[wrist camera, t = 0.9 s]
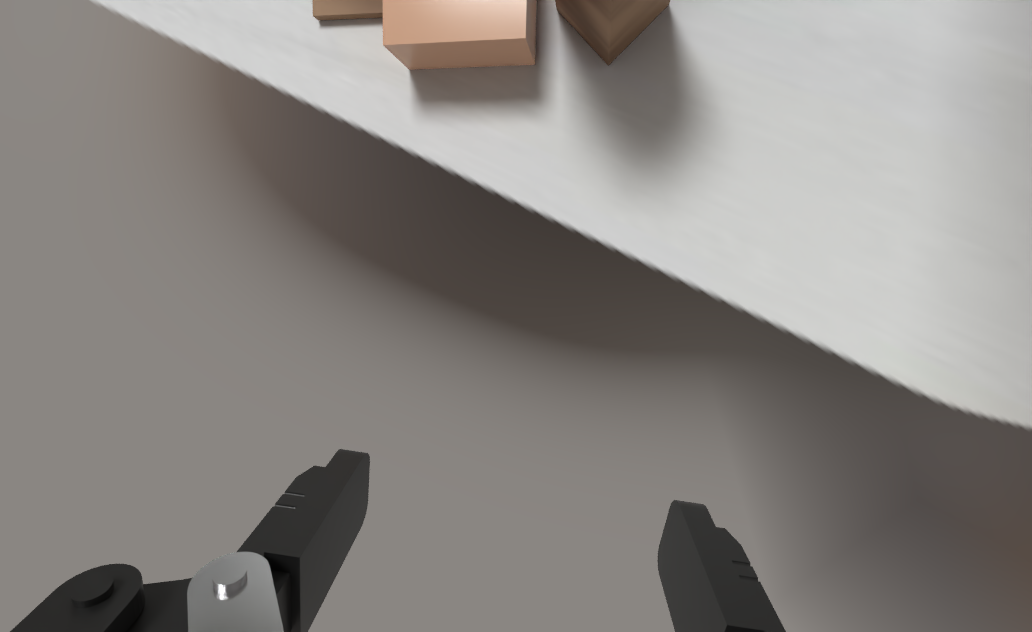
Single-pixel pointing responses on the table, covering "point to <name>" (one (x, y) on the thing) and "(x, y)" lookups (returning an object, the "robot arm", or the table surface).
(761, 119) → the table surface
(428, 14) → the terracotta block
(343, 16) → the walnut swatch
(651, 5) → the walnut pillar
